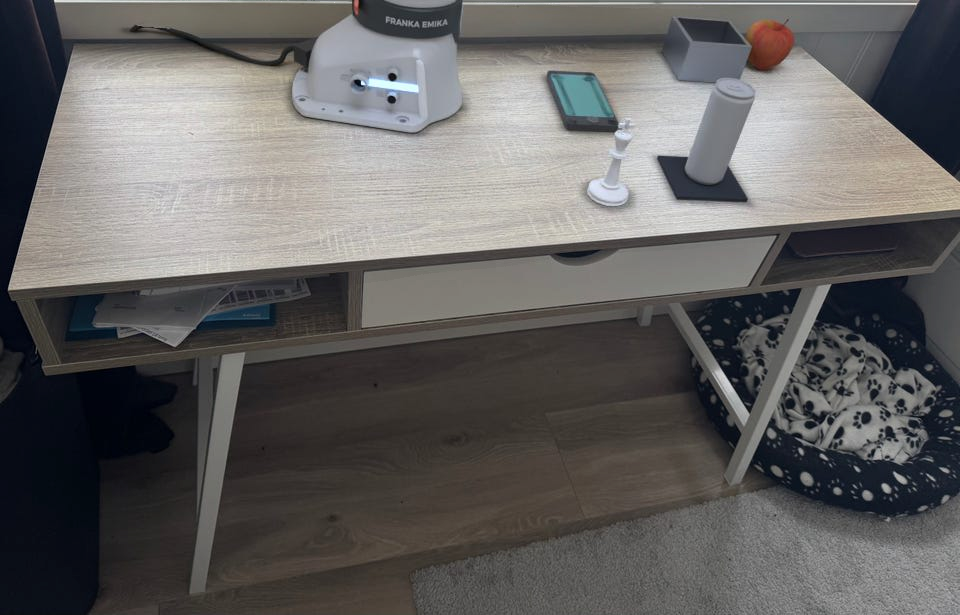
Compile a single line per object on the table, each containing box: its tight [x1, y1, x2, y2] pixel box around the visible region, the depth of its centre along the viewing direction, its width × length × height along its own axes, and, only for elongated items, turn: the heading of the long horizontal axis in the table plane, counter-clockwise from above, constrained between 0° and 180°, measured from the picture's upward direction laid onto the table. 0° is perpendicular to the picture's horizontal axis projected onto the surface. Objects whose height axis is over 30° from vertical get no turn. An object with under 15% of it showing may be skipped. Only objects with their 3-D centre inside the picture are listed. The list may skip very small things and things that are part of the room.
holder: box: [661, 15, 752, 84], centre depth 114 cm, size 10×10×6 cm
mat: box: [656, 155, 749, 203], centre depth 92 cm, size 9×9×1 cm
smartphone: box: [545, 70, 620, 133], centre depth 103 cm, size 7×1×15 cm
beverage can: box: [685, 78, 757, 185], centre depth 88 cm, size 5×5×12 cm
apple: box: [744, 18, 795, 71], centre depth 116 cm, size 7×7×8 cm
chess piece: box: [586, 117, 635, 207], centre depth 84 cm, size 5×5×10 cm
